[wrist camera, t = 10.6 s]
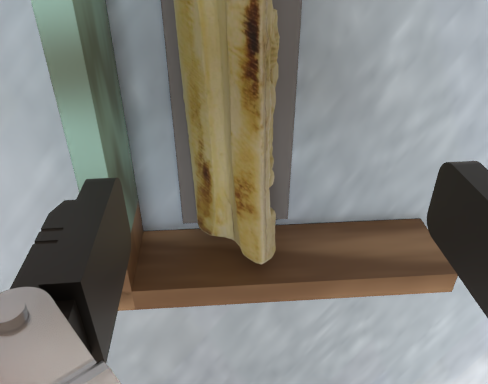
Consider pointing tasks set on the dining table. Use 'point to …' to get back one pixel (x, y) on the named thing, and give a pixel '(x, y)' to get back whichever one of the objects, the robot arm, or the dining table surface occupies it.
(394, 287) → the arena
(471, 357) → the dining table surface
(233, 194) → the plank
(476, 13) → the dining table surface
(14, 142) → the dining table surface
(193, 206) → the mat
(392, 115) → the dining table surface
